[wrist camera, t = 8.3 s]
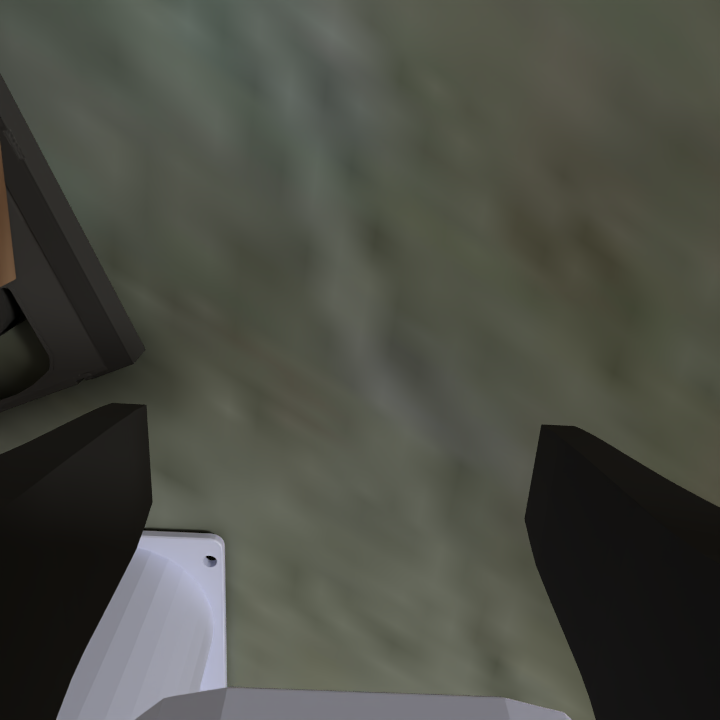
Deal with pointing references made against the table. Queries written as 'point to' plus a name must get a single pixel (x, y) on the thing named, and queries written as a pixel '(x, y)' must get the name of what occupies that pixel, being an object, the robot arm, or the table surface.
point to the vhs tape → (55, 272)
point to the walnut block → (5, 235)
